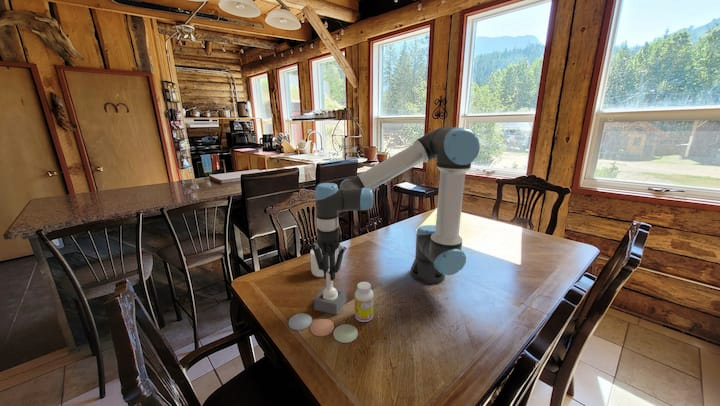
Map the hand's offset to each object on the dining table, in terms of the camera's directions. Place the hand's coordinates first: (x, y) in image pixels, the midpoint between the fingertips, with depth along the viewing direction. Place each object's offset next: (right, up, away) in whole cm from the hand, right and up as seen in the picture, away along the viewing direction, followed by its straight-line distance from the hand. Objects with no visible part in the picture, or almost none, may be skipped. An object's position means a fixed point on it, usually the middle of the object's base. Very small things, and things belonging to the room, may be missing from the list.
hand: (329, 286), depth 106 cm
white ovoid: (0, -7, +2) cm, 7 cm away
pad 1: (-10, -10, -7) cm, 16 cm away
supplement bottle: (+13, -10, -4) cm, 16 cm away
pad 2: (-2, -11, -9) cm, 15 cm away
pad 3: (+6, -12, -12) cm, 18 cm away
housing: (0, -8, +2) cm, 8 cm away
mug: (-5, -1, +25) cm, 26 cm away
